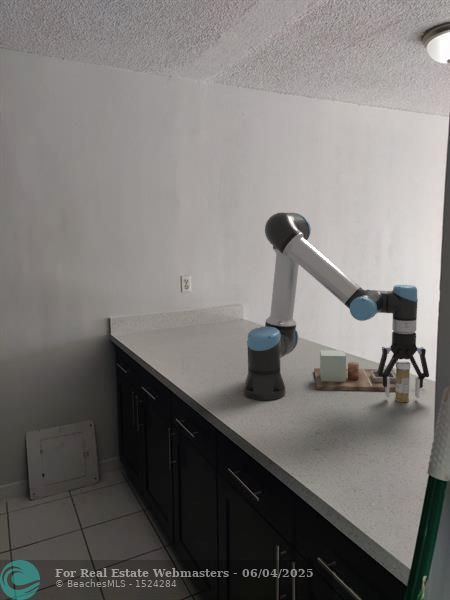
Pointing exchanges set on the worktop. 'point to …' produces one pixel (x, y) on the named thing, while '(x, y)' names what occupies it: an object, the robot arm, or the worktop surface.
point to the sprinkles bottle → (402, 381)
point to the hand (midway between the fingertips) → (402, 396)
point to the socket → (380, 379)
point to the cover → (332, 366)
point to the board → (353, 380)
